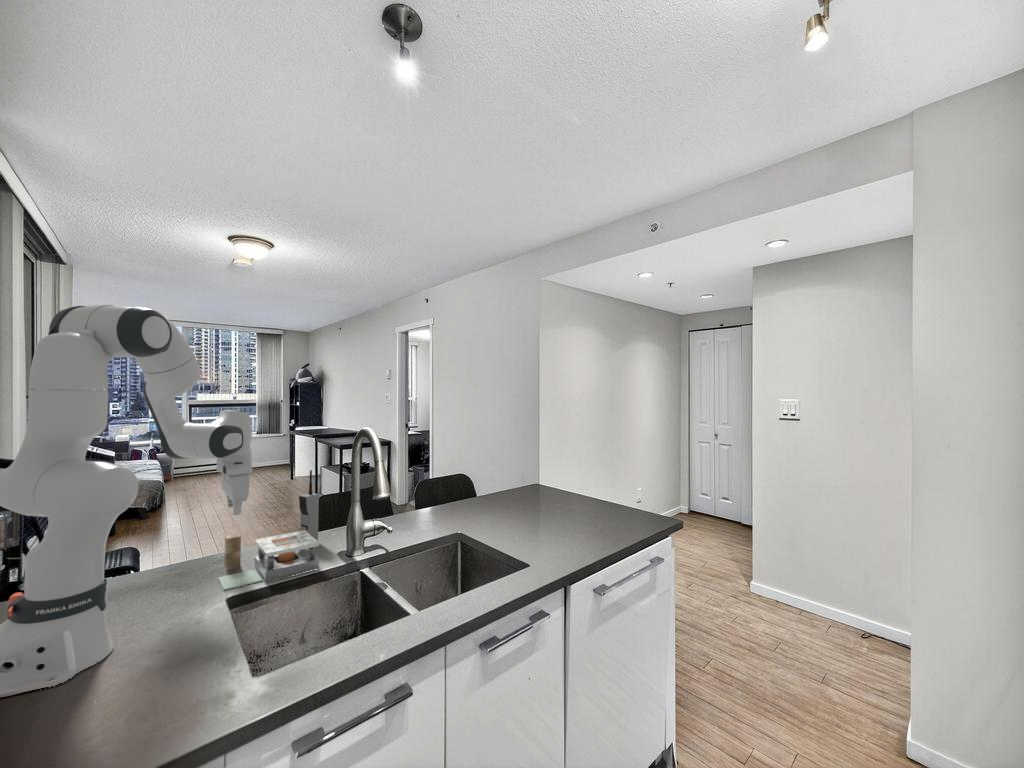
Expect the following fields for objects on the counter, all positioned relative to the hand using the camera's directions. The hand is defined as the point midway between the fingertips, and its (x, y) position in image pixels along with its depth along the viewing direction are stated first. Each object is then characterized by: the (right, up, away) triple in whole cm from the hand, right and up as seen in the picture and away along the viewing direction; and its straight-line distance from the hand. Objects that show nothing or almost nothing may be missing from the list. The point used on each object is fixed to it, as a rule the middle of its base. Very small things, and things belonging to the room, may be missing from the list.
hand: (233, 510), depth 134 cm
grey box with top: (+16, -17, -1) cm, 23 cm away
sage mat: (+8, -17, -9) cm, 20 cm away
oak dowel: (0, -17, 0) cm, 17 cm away
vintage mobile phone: (+13, -17, +19) cm, 29 cm away
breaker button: (+16, -14, -1) cm, 21 cm away
